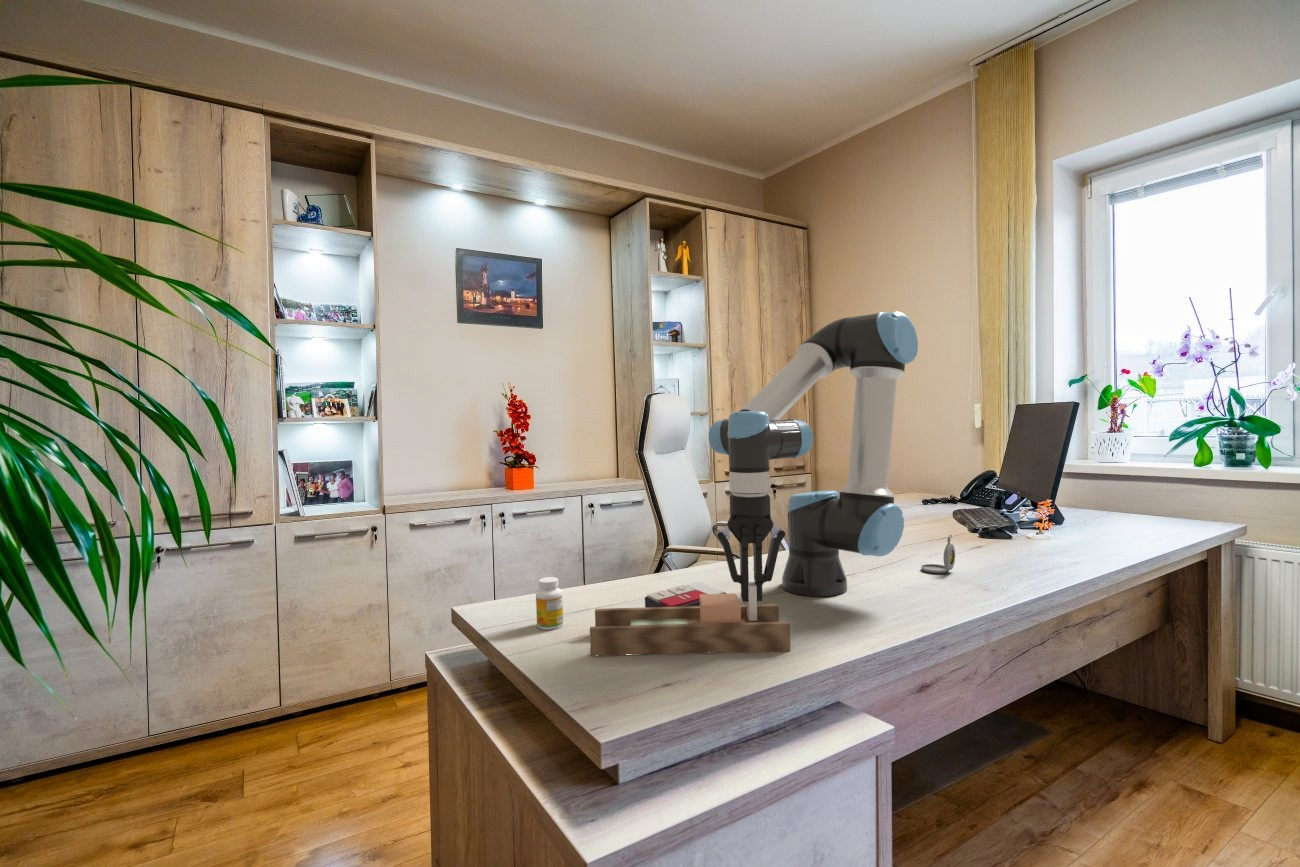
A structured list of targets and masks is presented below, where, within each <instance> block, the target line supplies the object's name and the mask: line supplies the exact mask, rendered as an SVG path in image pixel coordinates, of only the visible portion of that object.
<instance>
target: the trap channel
mask: <svg viewBox="0 0 1300 867" xmlns="http://www.w3.org/2000/svg"><path fill="white" fill-rule="evenodd" d="M740 605H741V623H710V624H701V621H700V606H684V607H646V608H645V607H621V608H620V607H619V608H618V607H617V608H616V607H614V608H613V607H612V608H595V609H594V625H595V626H590V627H589V645H590V646H589V647H590V657H602V656H601V655H620V656H627V655H626V654H658V655H687V654H686V653H697V654H709V653H708V652H735V653H766V652H767V653H768V652H769V653H771V652H791V623H790V622H789V621H787V620H786V621H780V607H779V604H778V603H768V604H765V603H763V604H759V603H758V604H757V620H755V621H749V619H748V617H747V604H740ZM680 653H682V654H680ZM596 655H598V656H596Z"/></svg>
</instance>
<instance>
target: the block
mask: <svg viewBox="0 0 1300 867" xmlns="http://www.w3.org/2000/svg"><path fill="white" fill-rule="evenodd" d="M737 595H738V594H736V593H735V592H733V593H727V594H700V621H701V624H710V623H741V605H742V604H741V602H740V600H739V598H738V596H737Z"/></svg>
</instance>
